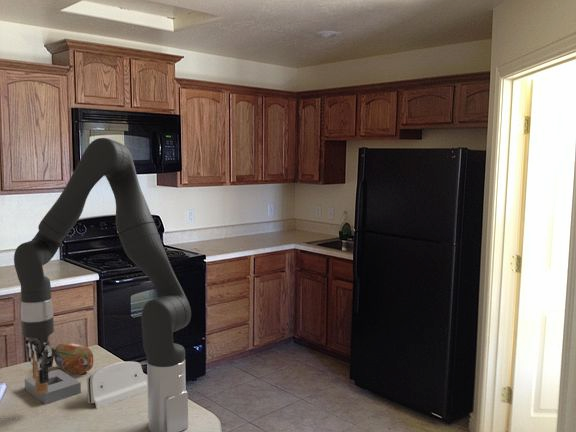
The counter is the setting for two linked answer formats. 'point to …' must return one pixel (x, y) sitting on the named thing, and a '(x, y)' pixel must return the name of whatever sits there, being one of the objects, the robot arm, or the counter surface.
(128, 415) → the counter surface
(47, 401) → the hole block
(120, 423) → the counter surface
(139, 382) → the hinge
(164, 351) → the robot arm
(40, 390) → the peg
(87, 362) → the tin
